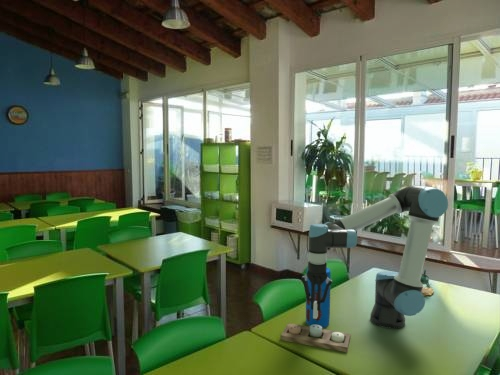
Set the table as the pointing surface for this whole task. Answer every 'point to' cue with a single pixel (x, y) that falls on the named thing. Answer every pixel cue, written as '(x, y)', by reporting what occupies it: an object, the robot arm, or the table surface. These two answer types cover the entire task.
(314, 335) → the button two
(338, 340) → the button one
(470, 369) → the table surface
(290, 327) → the button three
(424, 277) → the frog figurine
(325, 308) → the thermos
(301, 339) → the board
